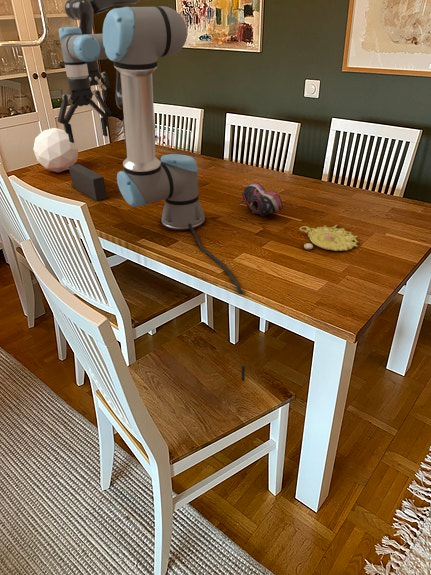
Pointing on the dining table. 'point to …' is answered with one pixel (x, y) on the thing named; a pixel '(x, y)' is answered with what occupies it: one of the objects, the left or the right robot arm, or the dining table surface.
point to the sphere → (55, 150)
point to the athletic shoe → (261, 200)
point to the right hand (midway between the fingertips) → (89, 139)
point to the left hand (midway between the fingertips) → (95, 101)
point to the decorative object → (330, 238)
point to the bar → (88, 182)
